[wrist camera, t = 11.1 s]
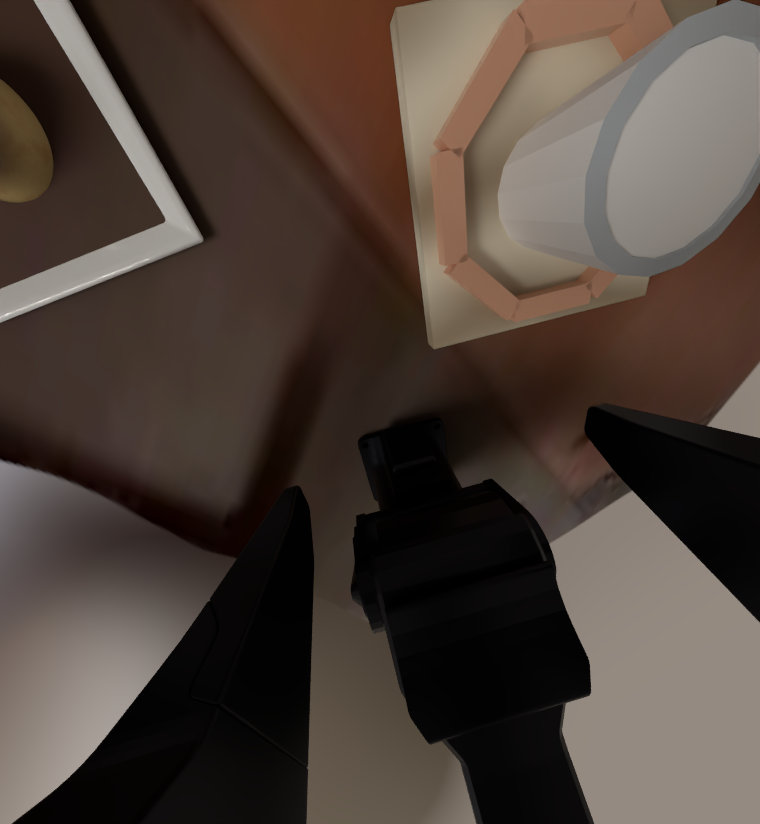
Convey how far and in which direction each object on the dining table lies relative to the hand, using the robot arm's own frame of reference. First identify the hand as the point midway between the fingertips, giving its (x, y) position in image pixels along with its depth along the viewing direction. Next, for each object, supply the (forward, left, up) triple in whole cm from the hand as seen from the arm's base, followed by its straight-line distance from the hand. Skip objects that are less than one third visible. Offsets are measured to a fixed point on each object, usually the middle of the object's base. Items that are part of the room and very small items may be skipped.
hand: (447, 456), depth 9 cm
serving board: (+6, -10, -12) cm, 17 cm away
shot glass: (+6, -10, -11) cm, 16 cm away
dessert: (+12, +14, -13) cm, 23 cm away
